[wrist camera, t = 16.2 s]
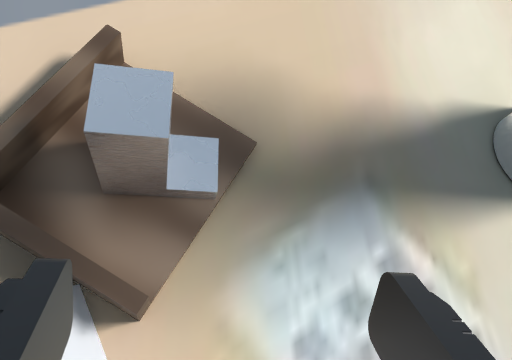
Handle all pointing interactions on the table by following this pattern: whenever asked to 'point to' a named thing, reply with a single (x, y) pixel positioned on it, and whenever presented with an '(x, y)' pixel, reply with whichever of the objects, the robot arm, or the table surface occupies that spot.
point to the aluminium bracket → (144, 138)
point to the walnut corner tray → (100, 188)
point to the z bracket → (82, 332)
